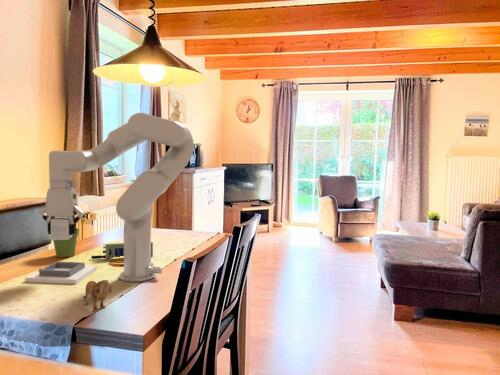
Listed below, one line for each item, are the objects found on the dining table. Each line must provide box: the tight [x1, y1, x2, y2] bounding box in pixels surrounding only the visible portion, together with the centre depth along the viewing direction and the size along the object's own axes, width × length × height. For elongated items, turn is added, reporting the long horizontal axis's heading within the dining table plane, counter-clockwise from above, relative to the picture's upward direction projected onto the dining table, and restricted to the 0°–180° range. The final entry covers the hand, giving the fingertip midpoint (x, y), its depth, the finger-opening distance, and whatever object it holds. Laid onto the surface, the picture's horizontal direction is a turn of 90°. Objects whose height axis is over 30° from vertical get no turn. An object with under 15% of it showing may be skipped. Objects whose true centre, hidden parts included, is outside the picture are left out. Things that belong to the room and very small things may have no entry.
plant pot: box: [52, 227, 81, 259], centre depth 166 cm, size 12×12×11 cm
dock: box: [24, 261, 98, 285], centre depth 140 cm, size 18×16×4 cm
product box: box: [50, 217, 73, 241], centre depth 139 cm, size 6×6×7 cm
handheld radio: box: [91, 241, 154, 261], centre depth 165 cm, size 7×3×25 cm
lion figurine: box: [82, 279, 115, 312], centre depth 114 cm, size 15×5×9 cm, turn 51°
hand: (61, 233), depth 139 cm, fingers closed on product box, 7 cm apart
